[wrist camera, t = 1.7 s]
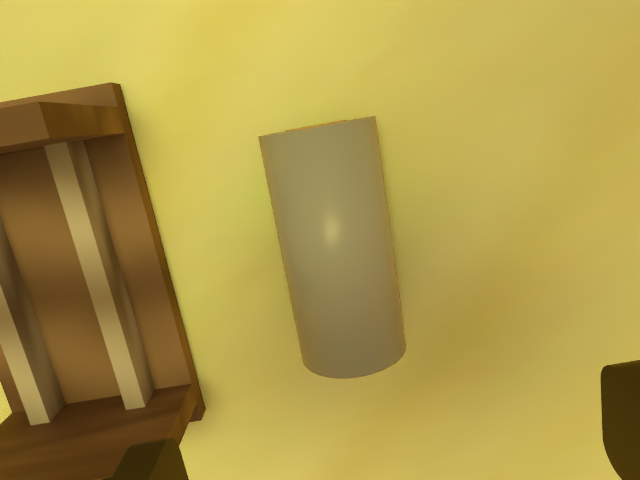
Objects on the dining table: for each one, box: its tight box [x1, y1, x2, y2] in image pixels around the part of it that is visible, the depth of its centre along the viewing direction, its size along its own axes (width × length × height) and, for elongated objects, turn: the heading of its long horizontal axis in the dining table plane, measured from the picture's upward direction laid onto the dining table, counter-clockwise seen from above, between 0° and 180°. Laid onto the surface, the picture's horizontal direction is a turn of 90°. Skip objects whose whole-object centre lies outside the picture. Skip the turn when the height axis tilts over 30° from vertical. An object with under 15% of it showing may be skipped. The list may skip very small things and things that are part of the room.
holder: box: [0, 83, 205, 480], centre depth 21 cm, size 18×10×8 cm, turn 10°
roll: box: [259, 116, 406, 378], centre depth 22 cm, size 11×5×5 cm, turn 10°
